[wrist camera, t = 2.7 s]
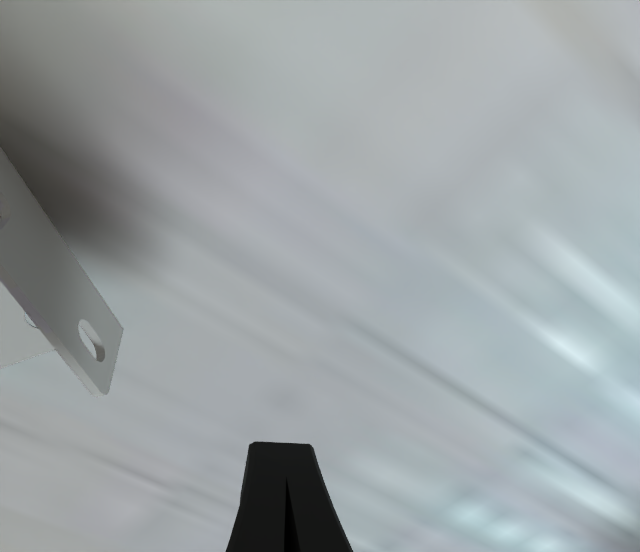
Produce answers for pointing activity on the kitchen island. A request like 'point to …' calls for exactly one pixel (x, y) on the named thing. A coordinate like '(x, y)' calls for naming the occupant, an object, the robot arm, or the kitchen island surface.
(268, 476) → the robot arm
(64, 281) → the bracket
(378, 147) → the kitchen island surface
